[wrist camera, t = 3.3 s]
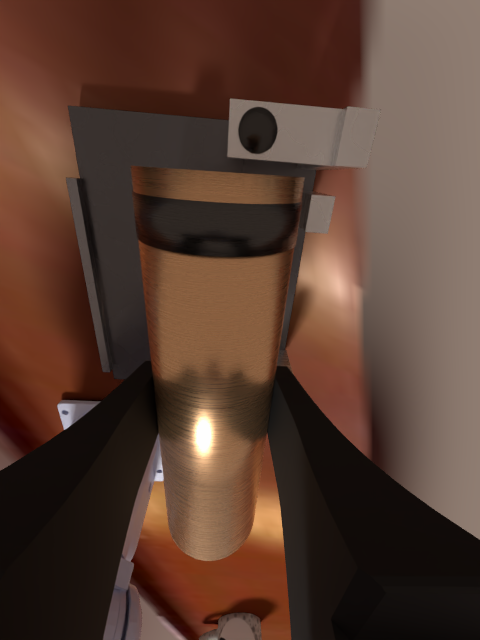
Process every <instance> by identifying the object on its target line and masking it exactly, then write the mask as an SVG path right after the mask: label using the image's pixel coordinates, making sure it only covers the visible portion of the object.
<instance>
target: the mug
mask: <svg viewBox="0 0 480 640" xmlns="http://www.w3.org/2000/svg"><path fill="white" fill-rule="evenodd" d="M199 640H261V622H260V618H259V617H258V616H256V615H254V614H250V613H231V614H227V615H224V616H222V617H221V618H219V620H218V629H214V630H212V631H209V632H206V633H204V634H203V635H202V636H200V638H199Z"/></svg>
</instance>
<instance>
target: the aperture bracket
mask: <svg viewBox="0 0 480 640" xmlns="http://www.w3.org/2000/svg"><path fill="white" fill-rule="evenodd" d="M380 113H381V110H380V109H370V108H359V107H349V106H347V107H346V108H344V109H336V108H325V107H315V106H304V105H294V104H283V103H273V102H262V101H251V100H241V99H230V110H229V132H228V154H227V157H228V158H235V159H247V160H259V161H271V162H282V163H294V164H298V165H297V168H298V169H310V170H332V169H359V168H367V165H368V161H369V157H370V153H371V149H372V145H373V141H374V136H375V133H376V128H377V125H378V121H379V116H380Z"/></svg>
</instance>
